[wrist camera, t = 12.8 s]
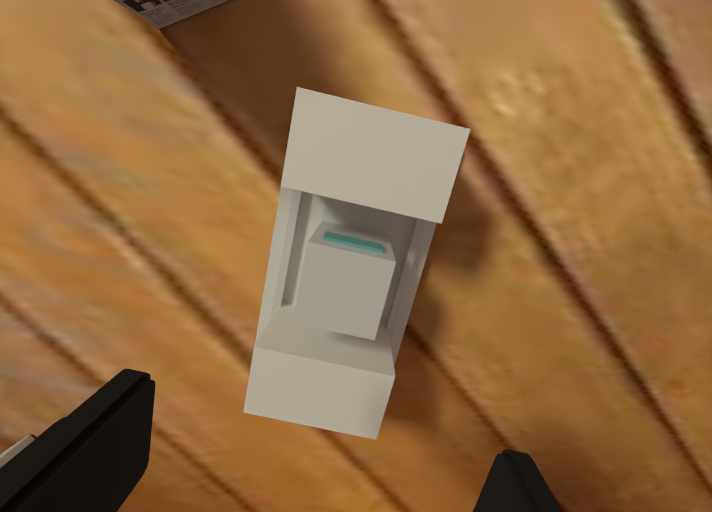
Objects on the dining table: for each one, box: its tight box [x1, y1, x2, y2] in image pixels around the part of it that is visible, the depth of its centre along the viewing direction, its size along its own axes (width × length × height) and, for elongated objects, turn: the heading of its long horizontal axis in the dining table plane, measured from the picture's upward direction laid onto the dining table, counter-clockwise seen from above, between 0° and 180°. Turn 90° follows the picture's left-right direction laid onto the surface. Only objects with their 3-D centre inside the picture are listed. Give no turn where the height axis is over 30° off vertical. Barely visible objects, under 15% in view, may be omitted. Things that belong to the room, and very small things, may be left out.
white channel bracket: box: [244, 87, 470, 439], centre depth 24 cm, size 20×12×8 cm, turn 167°
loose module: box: [292, 220, 396, 340], centre depth 23 cm, size 5×5×7 cm
